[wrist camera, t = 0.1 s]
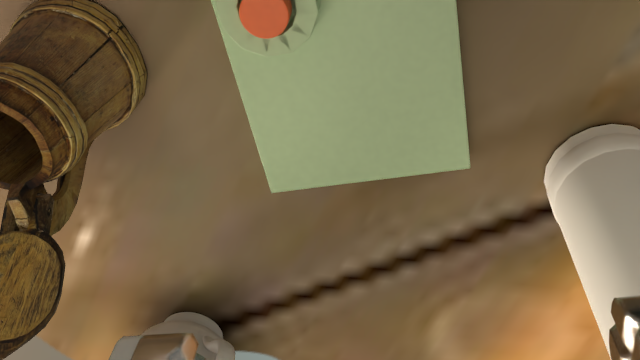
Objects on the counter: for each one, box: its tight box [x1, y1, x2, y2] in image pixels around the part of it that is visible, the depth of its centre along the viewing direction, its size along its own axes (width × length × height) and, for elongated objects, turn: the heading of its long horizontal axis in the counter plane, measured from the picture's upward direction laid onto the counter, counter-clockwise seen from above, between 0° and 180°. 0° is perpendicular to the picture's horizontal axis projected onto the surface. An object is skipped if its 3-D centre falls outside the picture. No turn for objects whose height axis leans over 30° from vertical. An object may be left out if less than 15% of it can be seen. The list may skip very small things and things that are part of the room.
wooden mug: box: [0, 0, 147, 360], centre depth 34 cm, size 9×14×18 cm, turn 8°
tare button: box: [239, 0, 292, 39], centre depth 33 cm, size 3×3×1 cm
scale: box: [211, 0, 470, 193], centre depth 37 cm, size 16×14×4 cm
